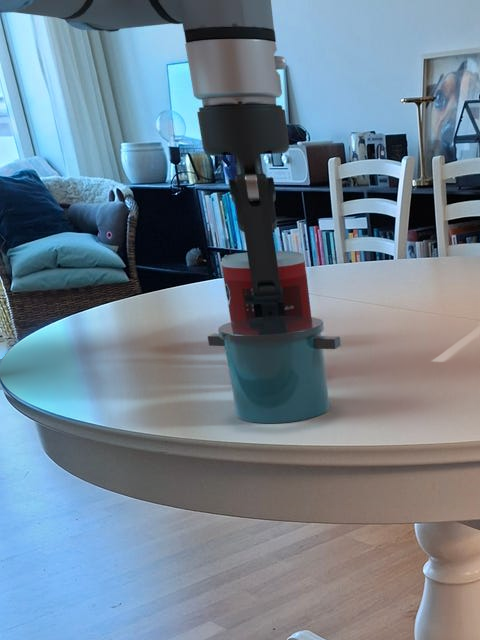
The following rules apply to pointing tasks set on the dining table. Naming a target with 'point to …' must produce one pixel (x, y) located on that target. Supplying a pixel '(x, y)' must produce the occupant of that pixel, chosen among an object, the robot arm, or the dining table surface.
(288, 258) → the canned food
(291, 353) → the enamel pot
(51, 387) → the dining table surface
